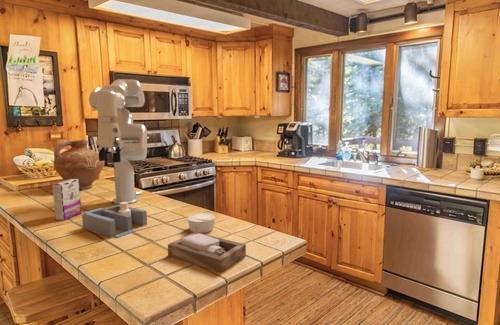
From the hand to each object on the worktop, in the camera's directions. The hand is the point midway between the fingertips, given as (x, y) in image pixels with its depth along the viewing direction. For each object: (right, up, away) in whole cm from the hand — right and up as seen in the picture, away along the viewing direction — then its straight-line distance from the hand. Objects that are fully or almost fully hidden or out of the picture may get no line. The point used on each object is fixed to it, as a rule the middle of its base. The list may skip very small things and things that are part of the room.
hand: (109, 161), depth 142 cm
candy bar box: (-23, -25, +10) cm, 36 cm away
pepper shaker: (+6, -27, +1) cm, 28 cm away
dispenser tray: (+45, -32, -29) cm, 62 cm away
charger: (+45, -31, -30) cm, 62 cm away
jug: (-46, -16, +67) cm, 83 cm away
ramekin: (+40, -28, -4) cm, 49 cm away
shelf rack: (+4, -27, -2) cm, 28 cm away
